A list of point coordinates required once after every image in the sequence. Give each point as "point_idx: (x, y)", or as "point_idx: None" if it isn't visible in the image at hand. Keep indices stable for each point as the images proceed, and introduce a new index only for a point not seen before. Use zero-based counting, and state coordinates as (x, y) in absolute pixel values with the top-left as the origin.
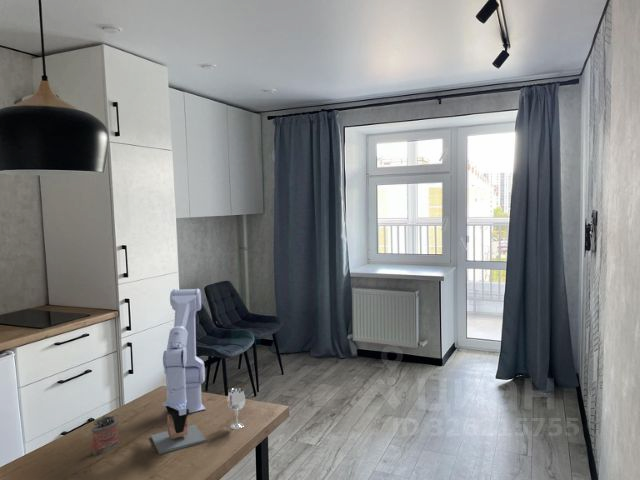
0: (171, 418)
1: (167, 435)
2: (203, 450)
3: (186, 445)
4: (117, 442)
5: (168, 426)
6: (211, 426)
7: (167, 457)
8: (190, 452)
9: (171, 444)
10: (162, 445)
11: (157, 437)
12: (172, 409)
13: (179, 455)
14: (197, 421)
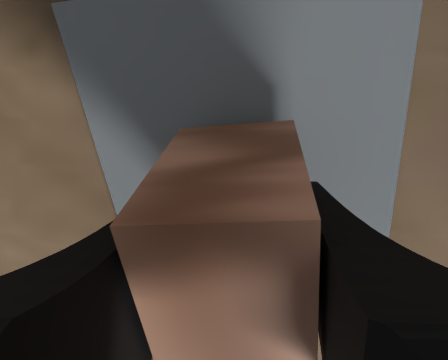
0: (161, 245)
1: (318, 109)
2: None
3: (115, 199)
4: None
5: (270, 151)
6: (319, 346)
7: (8, 60)
8: (49, 199)
9: (144, 115)
10: (152, 44)
11: (331, 16)
12: (340, 353)
13: (24, 138)
14: None
